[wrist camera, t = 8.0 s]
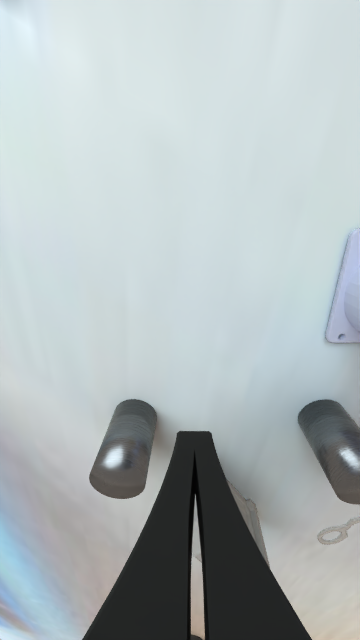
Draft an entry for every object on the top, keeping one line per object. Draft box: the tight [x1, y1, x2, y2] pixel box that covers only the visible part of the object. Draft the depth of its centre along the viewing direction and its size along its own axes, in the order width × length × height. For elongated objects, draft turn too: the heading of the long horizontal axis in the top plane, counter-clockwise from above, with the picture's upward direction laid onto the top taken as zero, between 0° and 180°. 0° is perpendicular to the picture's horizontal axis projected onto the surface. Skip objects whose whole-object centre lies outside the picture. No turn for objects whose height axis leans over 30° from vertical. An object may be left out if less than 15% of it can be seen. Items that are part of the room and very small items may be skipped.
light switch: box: [192, 479, 270, 568], centre depth 22 cm, size 2×12×8 cm, turn 35°
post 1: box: [89, 399, 157, 499], centre depth 19 cm, size 4×4×6 cm
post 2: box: [298, 400, 360, 504], centre depth 18 cm, size 4×4×6 cm
